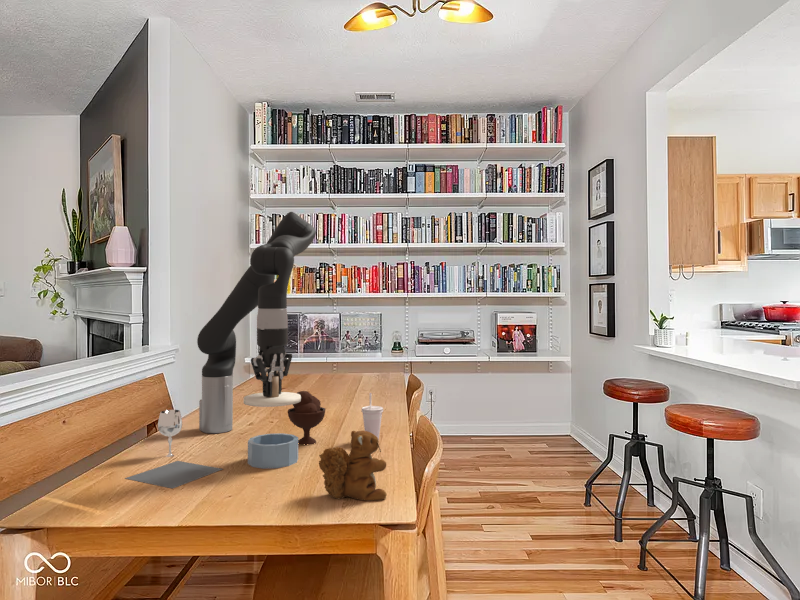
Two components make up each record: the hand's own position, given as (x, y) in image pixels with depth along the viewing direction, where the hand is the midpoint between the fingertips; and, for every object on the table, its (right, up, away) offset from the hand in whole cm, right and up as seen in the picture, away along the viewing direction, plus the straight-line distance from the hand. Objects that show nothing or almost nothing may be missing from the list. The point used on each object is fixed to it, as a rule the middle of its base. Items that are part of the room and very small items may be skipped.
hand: (272, 395), depth 136 cm
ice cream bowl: (+5, -17, +20) cm, 27 cm away
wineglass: (-28, -17, +5) cm, 33 cm away
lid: (0, -2, 0) cm, 2 cm away
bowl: (0, -17, 0) cm, 17 cm away
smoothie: (+24, -17, +22) cm, 37 cm away
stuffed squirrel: (+22, -17, -21) cm, 35 cm away
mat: (-20, -17, -10) cm, 28 cm away
